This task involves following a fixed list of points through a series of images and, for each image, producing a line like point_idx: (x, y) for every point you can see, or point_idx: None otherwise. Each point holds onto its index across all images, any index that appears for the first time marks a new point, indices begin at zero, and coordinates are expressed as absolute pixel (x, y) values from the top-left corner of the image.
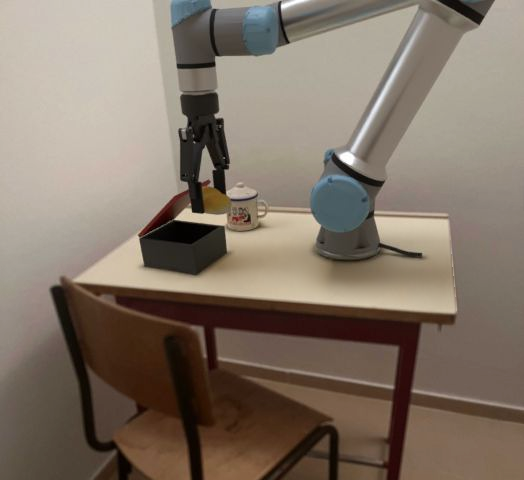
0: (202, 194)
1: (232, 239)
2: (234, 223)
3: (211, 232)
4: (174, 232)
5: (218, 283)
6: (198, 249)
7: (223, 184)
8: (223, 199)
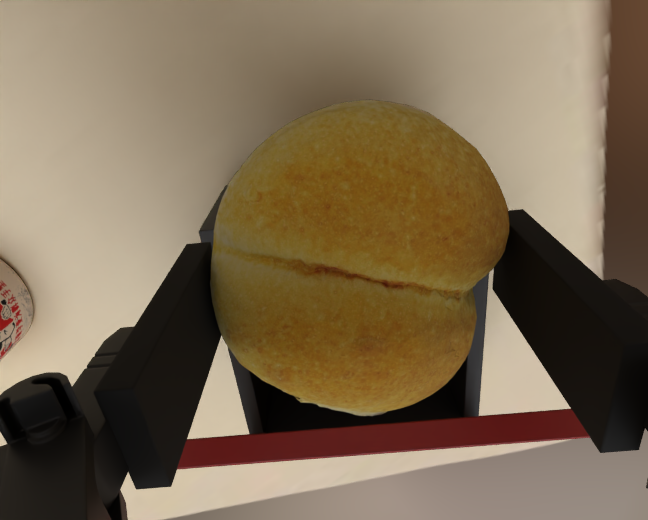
0: (560, 272)
1: (103, 250)
2: (13, 308)
3: None
4: (279, 404)
5: (495, 27)
6: None
7: (177, 308)
8: (389, 144)
